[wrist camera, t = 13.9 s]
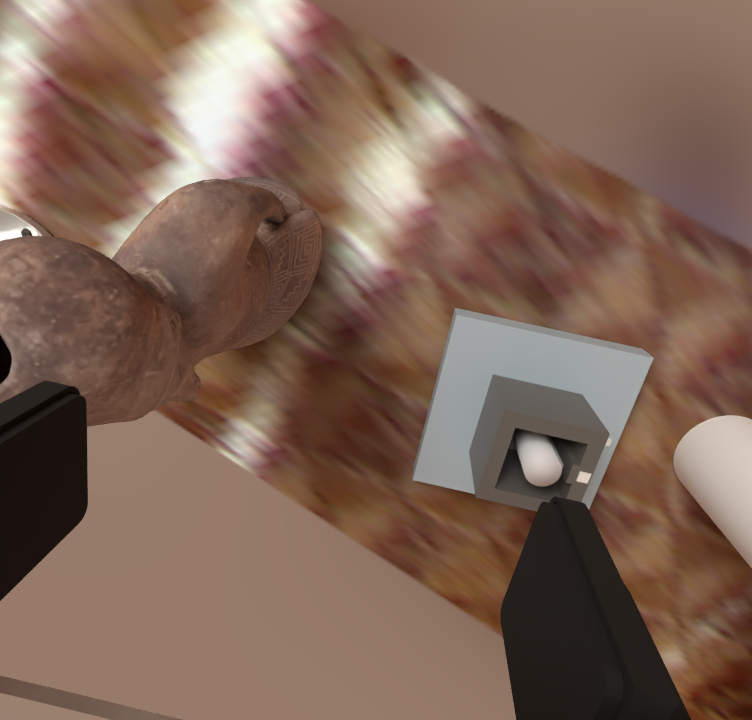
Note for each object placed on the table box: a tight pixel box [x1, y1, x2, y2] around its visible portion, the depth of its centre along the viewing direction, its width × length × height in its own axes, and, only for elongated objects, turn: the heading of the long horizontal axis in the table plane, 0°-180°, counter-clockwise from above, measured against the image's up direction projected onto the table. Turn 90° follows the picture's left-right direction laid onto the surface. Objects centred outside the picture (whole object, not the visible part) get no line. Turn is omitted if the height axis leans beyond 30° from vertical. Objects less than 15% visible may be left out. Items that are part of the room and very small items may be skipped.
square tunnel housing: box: [469, 374, 610, 512], centre depth 35 cm, size 7×7×6 cm
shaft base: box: [413, 308, 653, 510], centre depth 35 cm, size 14×14×8 cm
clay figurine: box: [0, 177, 323, 426], centre depth 26 cm, size 13×10×25 cm
